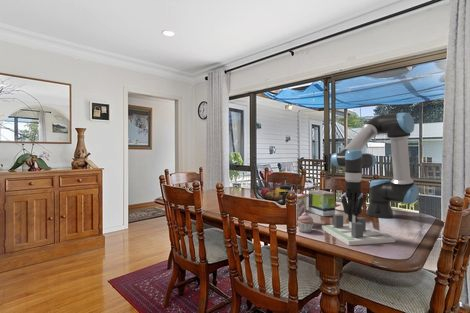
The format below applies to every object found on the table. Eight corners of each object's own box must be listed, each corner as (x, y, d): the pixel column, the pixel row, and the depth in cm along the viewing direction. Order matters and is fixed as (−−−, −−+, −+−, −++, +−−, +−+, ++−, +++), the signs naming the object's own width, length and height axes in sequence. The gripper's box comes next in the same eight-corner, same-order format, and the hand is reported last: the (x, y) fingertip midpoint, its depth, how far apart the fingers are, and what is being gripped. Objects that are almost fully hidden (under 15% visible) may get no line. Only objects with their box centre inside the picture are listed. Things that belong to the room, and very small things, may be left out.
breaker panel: (361, 226, 149) (361, 223, 149) (395, 242, 125) (395, 237, 125) (321, 229, 144) (321, 225, 144) (348, 245, 121) (348, 240, 121)
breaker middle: (361, 228, 137) (361, 217, 137) (365, 230, 134) (365, 218, 134) (354, 229, 136) (354, 217, 136) (358, 231, 133) (358, 219, 133)
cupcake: (309, 235, 135) (309, 215, 134) (292, 231, 141) (292, 212, 141) (317, 230, 142) (317, 212, 141) (301, 227, 148) (301, 209, 148)
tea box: (335, 215, 174) (335, 192, 173) (322, 217, 170) (323, 193, 169) (319, 210, 188) (319, 189, 187) (307, 211, 184) (308, 190, 183)
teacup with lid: (349, 227, 148) (350, 206, 148) (332, 224, 153) (333, 204, 153) (354, 222, 158) (354, 202, 157) (338, 219, 163) (338, 200, 163)
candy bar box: (296, 226, 150) (296, 197, 149) (288, 224, 153) (288, 195, 153) (306, 222, 158) (307, 194, 157) (299, 220, 161) (299, 193, 161)
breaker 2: (358, 234, 128) (359, 222, 127) (363, 236, 125) (363, 224, 125) (351, 235, 127) (351, 222, 127) (355, 237, 124) (355, 224, 124)
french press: (279, 207, 196) (280, 176, 195) (292, 208, 193) (293, 176, 192) (276, 211, 185) (276, 177, 184) (290, 212, 182) (290, 178, 181)
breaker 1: (339, 225, 143) (340, 214, 143) (343, 226, 140) (343, 215, 140) (332, 225, 143) (333, 214, 142) (336, 227, 140) (336, 215, 139)
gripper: (360, 179, 138) (359, 225, 139) (336, 180, 136) (336, 226, 137) (369, 181, 131) (368, 229, 132) (345, 182, 129) (344, 231, 129)
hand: (352, 228), depth 134 cm, fingers closed
